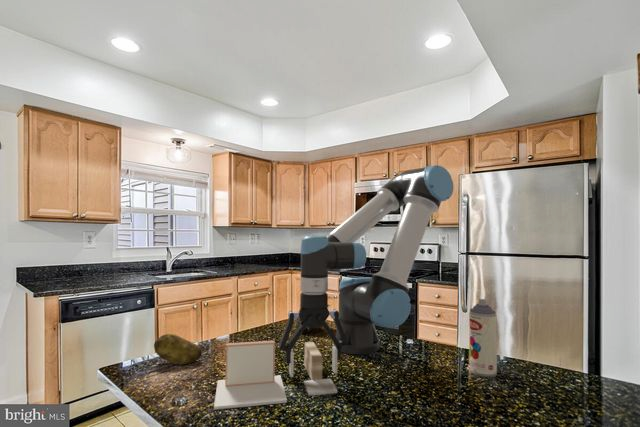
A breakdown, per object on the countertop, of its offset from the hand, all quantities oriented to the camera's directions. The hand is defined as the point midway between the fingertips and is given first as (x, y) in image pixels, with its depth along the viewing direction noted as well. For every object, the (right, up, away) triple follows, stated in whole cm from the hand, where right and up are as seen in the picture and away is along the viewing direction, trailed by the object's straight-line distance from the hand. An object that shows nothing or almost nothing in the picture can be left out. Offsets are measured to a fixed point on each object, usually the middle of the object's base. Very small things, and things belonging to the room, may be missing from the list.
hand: (313, 373), depth 98 cm
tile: (-16, +1, -8) cm, 17 cm away
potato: (-40, 0, +8) cm, 41 cm away
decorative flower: (0, -2, +42) cm, 42 cm away
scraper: (+1, 0, -2) cm, 3 cm away
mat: (-15, 0, -11) cm, 19 cm away
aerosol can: (+47, -1, +2) cm, 47 cm away
